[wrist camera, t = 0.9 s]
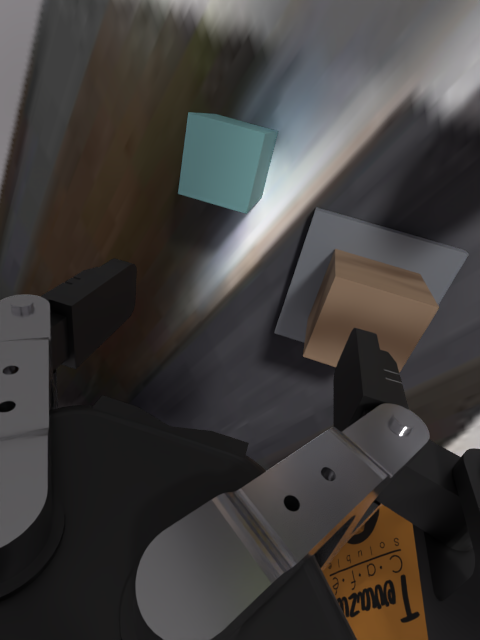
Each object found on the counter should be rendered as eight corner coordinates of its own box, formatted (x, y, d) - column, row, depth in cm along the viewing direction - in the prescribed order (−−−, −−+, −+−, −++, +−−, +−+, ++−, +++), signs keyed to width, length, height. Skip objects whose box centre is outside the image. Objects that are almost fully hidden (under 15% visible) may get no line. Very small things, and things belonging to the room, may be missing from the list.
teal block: (215, 113, 27) (188, 112, 22) (278, 131, 27) (265, 133, 22) (204, 181, 30) (177, 193, 25) (261, 197, 29) (246, 213, 24)
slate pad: (316, 207, 29) (315, 209, 28) (464, 250, 28) (468, 254, 27) (275, 327, 35) (274, 333, 34) (395, 366, 34) (397, 372, 33)
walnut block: (335, 248, 29) (335, 276, 24) (420, 273, 28) (439, 307, 23) (307, 319, 32) (302, 356, 27) (382, 343, 32) (391, 385, 27)
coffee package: (310, 468, 43) (293, 731, 25) (403, 429, 37) (474, 738, 19) (360, 515, 45) (379, 791, 27) (456, 485, 39) (566, 814, 21)
